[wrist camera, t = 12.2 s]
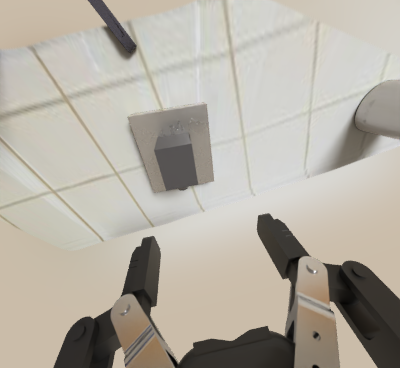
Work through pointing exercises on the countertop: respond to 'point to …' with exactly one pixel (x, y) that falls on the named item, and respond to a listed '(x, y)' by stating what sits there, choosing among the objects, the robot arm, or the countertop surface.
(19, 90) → the countertop surface
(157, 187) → the socket plate
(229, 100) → the countertop surface
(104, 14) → the bracket
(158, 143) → the plug
